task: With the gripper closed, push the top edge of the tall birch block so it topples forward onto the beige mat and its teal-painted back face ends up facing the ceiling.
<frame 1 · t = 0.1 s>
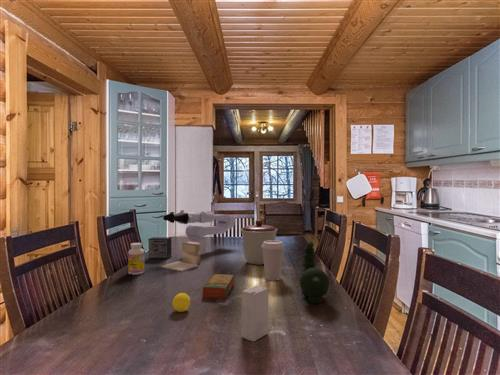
hand: (169, 218, 166), 22 cm above the table, tool horizontal, fingers open, 7 cm apart
supplement bottle: (136, 273, 145), on the table
carton: (219, 292, 121), on the table
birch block: (191, 263, 162), on the table
beige mat: (179, 266, 156), on the table
canister: (259, 263, 163), on the table
skincare box: (255, 336, 85), on the table
green topiary plant: (312, 296, 115), on the table
small box: (160, 258, 174), on the table
coffee cup: (272, 279, 136), on the table
lemon: (181, 311, 102), on the table
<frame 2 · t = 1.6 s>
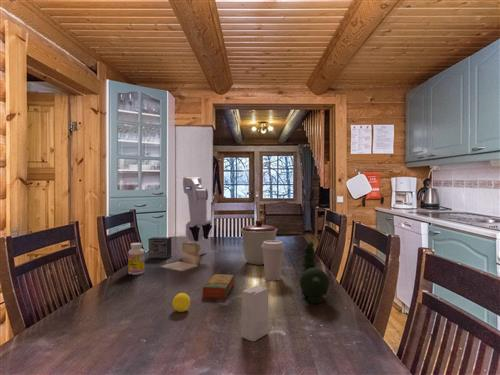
hand: (201, 239, 168), 10 cm above the table, tool pointing down, fingers open, 7 cm apart
nothing on the table moved.
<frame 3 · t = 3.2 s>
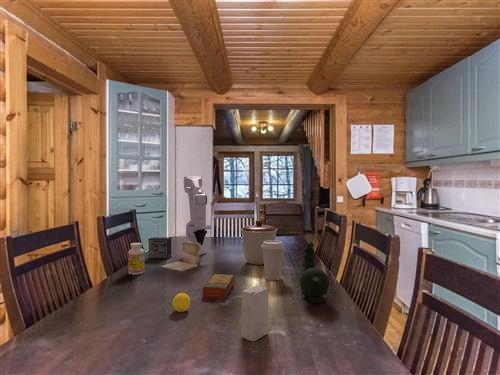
hand: (200, 244, 167), 8 cm above the table, tool pointing down, fingers closed
nothing on the table moved.
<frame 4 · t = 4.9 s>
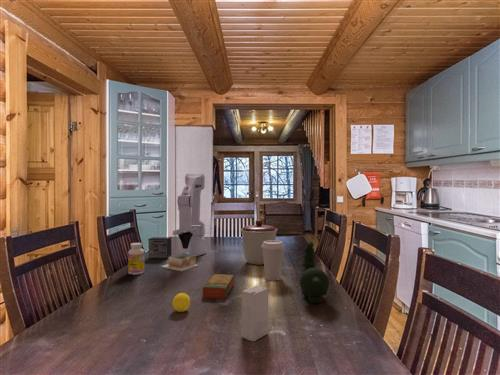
hand: (185, 248, 159), 8 cm above the table, tool pointing down, fingers closed
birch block: (189, 258, 161), point 3 cm above the table, tilted 90°, touching beige mat
everything else where it was.
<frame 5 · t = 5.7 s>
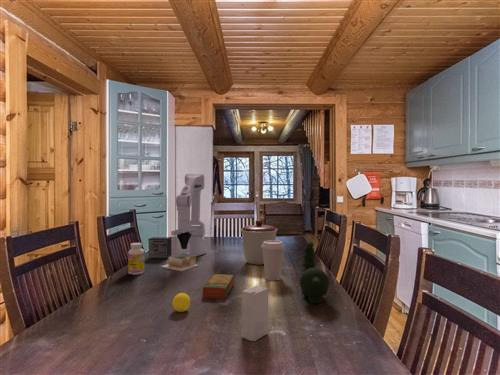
hand: (184, 248, 158), 8 cm above the table, tool pointing down, fingers closed
nothing on the table moved.
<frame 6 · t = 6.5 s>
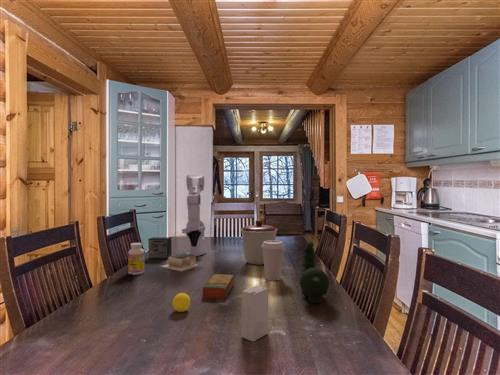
hand: (194, 246, 164), 8 cm above the table, tool pointing down, fingers closed
nothing on the table moved.
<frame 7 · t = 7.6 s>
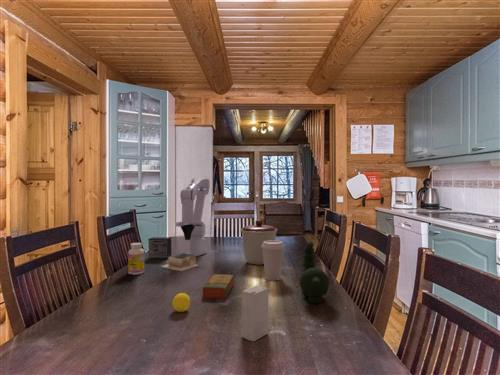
hand: (187, 239, 168), 10 cm above the table, tool pointing down, fingers closed
nothing on the table moved.
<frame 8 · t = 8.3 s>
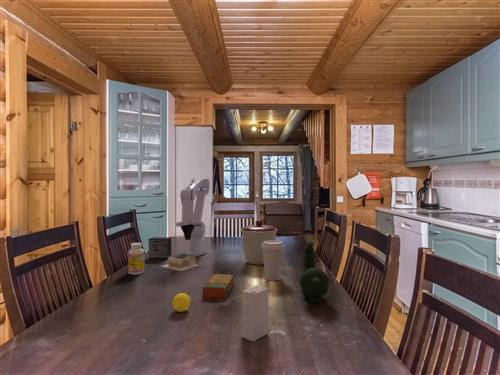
hand: (187, 239, 168), 10 cm above the table, tool pointing down, fingers closed
nothing on the table moved.
at the end: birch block tilted 90°; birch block inside the target area (3.3 cm from its centre), point 2.6 cm above the table; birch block touching beige mat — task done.
